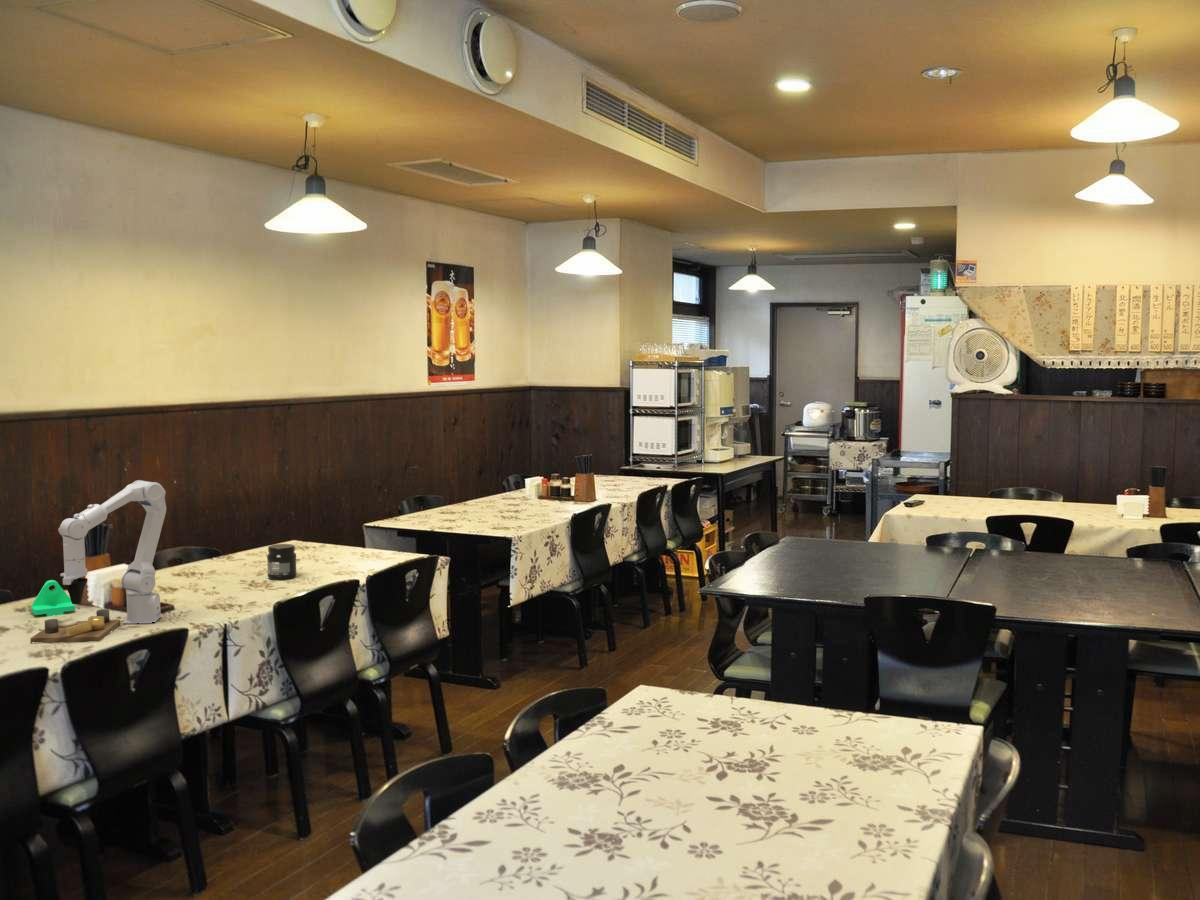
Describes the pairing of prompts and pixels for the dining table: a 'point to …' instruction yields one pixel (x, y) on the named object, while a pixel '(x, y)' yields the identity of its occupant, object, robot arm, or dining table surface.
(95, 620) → the brass lever handle
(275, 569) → the supplement container
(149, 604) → the robot arm
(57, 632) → the levelling base
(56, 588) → the green triangular bracket
